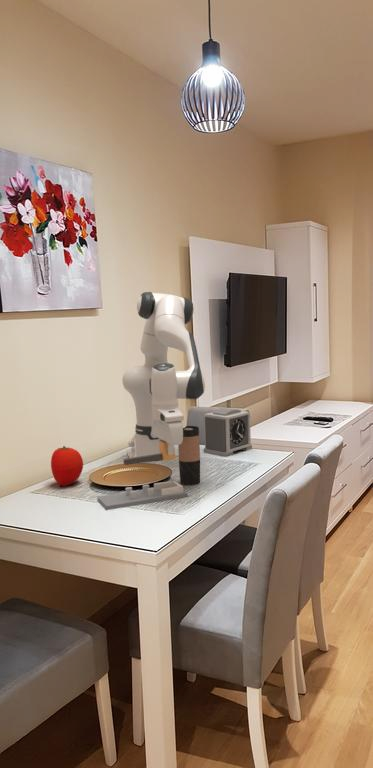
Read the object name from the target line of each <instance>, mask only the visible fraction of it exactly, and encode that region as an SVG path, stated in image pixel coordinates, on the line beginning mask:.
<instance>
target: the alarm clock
mask: <svg viewBox="0 0 373 768" xmlns="http://www.w3.org/2000/svg"><path fill="white" fill-rule="evenodd" d="M203 417H204V418H203V419H204V420H203V421H204V425H203V427H204V448H203V453H204V454H208V455H213V456H218V457H223V458H224V457H225V458H227V457H228V458H229V457H232V456H233V455H234V452H236V451H238V450H241V451H246V452H247V451H251V450H252V449H253V446H252V441H251V411H245V410H241V409H235V408H229V407H221V408H218V409H216V410H214V411H213V412H208V413H204V415H203Z"/></svg>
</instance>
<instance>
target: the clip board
mask: <svg viewBox="0 0 373 768" xmlns="http://www.w3.org/2000/svg"><path fill="white" fill-rule="evenodd" d="M188 494H189V493H188V492H187V491H185V490H184V485H182V484H181V483H180V482H179V483H178V482H177V481H176V480H169V481H163V482H155V483H153V487H150V485H149V484H143V485H142V489H138V490H133V487H132V486H130V487H125V492H119V493H111V494H107V495H106V494H105V495H100V496H97V497H96V498H97V501H98V502H99V503H100V505H101V506H102V507H103V508H104V509H105V510H106V511H107V510H114V509H121V508H127V507H131V506H138V505H143V504H144V505H145V504H149V503H151V504H152V503H156V502H162V501H170V500H175V499H181V498H187V497H189V495H188Z"/></svg>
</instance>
